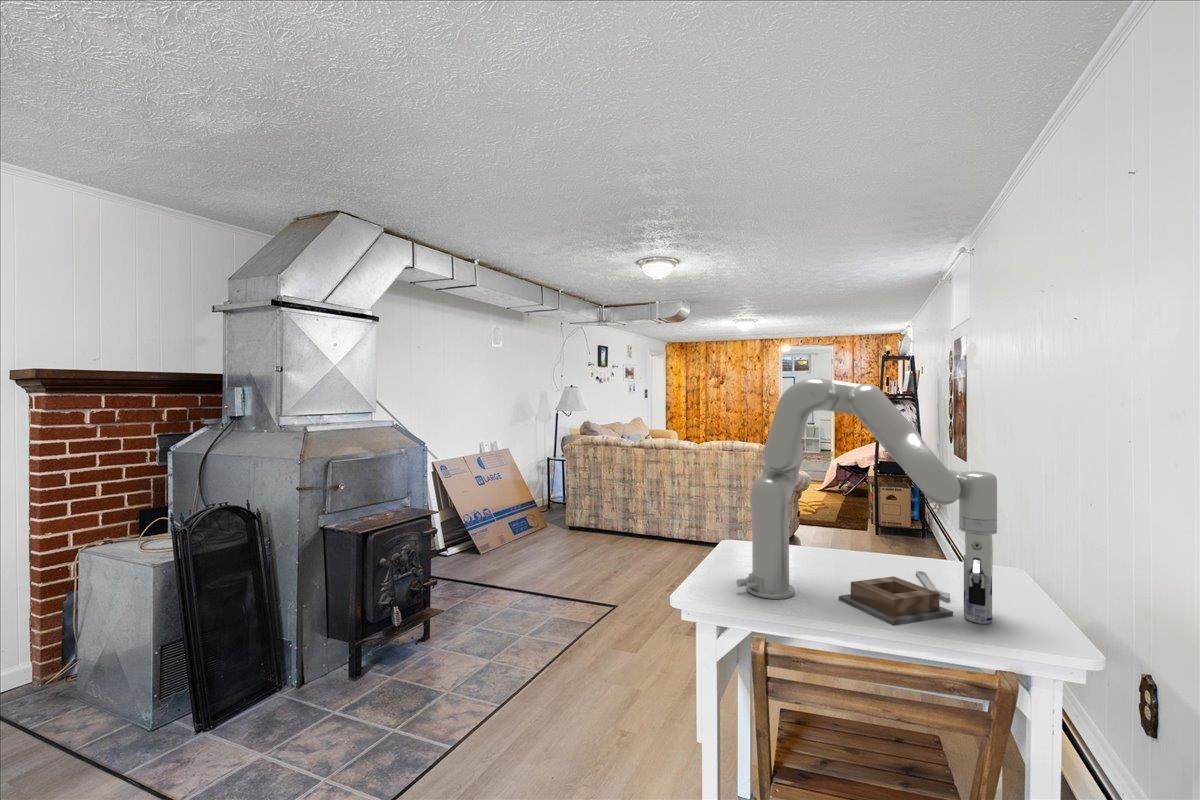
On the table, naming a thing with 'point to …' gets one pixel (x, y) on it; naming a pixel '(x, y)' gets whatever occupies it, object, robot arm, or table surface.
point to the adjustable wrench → (931, 585)
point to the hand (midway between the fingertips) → (977, 598)
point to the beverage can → (976, 611)
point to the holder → (895, 600)
